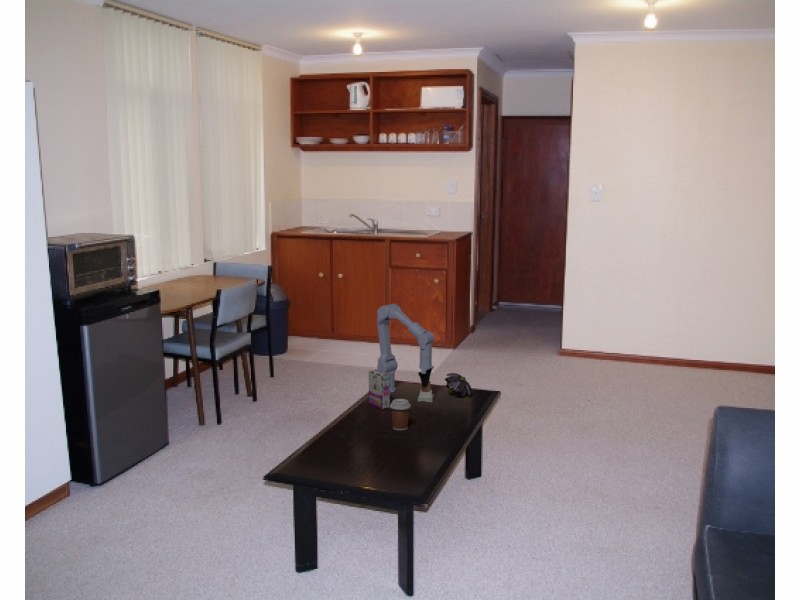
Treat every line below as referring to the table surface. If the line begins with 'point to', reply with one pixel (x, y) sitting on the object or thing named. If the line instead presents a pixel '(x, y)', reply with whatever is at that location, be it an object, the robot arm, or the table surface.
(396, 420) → the coffee cup
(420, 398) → the sage base block
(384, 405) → the candy bar box
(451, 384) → the decorative flower
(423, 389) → the terracotta cylinder
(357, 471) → the table surface
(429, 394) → the off-white top block
